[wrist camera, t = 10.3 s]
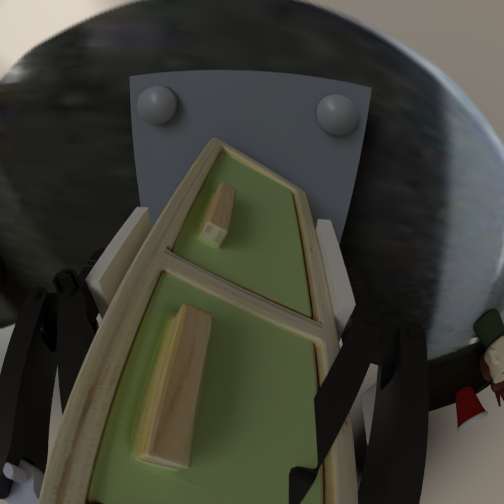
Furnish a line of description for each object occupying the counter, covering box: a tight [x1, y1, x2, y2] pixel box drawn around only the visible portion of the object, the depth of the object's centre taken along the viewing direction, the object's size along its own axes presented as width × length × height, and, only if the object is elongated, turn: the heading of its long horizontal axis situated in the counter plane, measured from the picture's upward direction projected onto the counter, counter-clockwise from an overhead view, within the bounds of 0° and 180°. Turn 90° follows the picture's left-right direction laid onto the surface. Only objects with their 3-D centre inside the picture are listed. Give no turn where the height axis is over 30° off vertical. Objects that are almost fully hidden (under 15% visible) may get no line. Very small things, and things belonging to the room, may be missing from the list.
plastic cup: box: [455, 386, 488, 432], centre depth 55 cm, size 11×11×12 cm
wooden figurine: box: [480, 351, 504, 407], centre depth 42 cm, size 7×6×15 cm
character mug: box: [474, 310, 504, 383], centre depth 35 cm, size 11×7×13 cm, turn 73°
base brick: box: [130, 70, 372, 245], centre depth 25 cm, size 18×18×7 cm
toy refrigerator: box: [38, 138, 358, 504], centre depth 13 cm, size 8×7×21 cm
